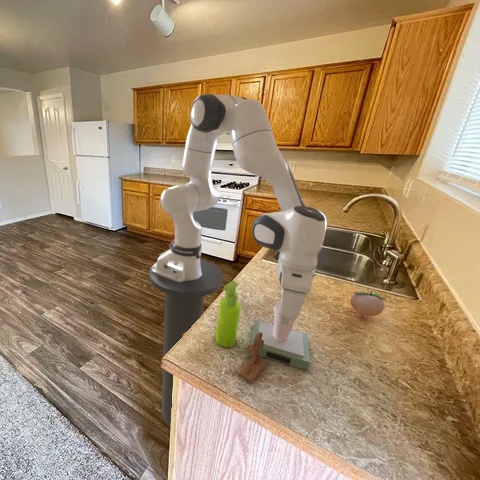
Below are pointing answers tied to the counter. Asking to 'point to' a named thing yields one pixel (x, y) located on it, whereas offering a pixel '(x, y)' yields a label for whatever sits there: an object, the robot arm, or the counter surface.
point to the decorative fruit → (367, 303)
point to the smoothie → (281, 325)
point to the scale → (283, 346)
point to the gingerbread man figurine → (253, 361)
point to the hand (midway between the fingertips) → (284, 312)
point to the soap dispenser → (228, 317)
